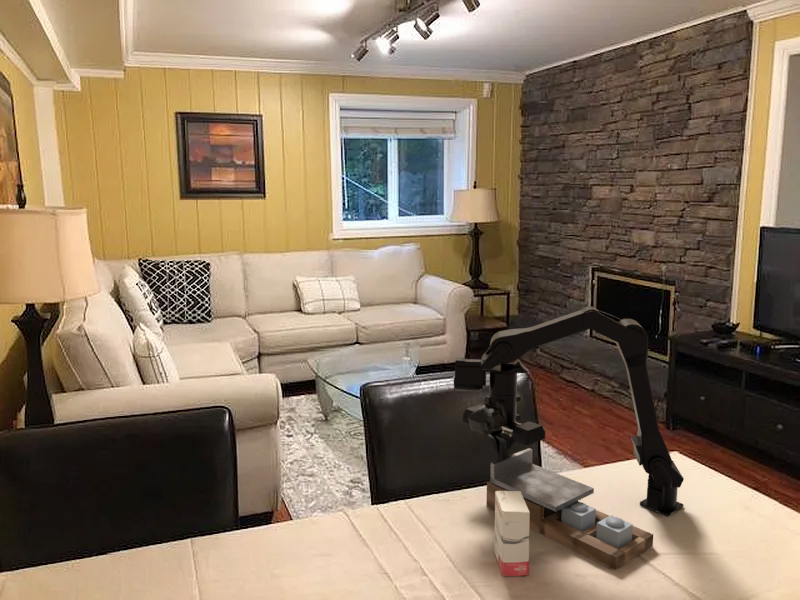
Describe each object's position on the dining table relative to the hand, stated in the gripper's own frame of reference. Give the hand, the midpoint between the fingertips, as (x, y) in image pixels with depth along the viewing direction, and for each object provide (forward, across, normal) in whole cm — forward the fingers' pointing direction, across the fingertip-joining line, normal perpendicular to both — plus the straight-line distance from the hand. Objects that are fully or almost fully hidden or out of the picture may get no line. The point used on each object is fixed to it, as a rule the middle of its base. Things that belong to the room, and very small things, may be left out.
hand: (501, 461), depth 141 cm
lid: (+2, +11, 0) cm, 11 cm away
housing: (+8, +17, 0) cm, 18 cm away
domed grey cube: (+8, +28, 0) cm, 29 cm away
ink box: (+8, +19, -18) cm, 27 cm away
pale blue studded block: (+8, +20, 0) cm, 21 cm away
